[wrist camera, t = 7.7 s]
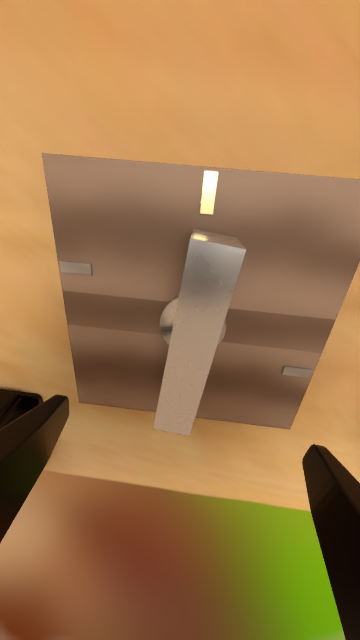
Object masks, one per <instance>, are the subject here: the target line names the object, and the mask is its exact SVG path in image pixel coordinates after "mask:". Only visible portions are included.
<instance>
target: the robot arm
mask: <svg viewBox="0 0 360 640" xmlns="http://www.w3.org/2000/svg"><path fill="white" fill-rule="evenodd" d="M68 416H69V400H68V397H67V396H63V395H55V396H53V397H51V398H50V399H48V400H46V401H45V402H43V403H42V400H41V397H40V396H39V395H37V394H30V393H22V392H14V391H6V390H0V543H1V541H2V539H3V537H4V536H5V534H6V532H7V530H8V529H9V527H10V525H11V524H12V522H13V520H14V518H15V517H16V515H17V513H18V512H19V510H20V508H21V507H22V505H23V503H24V501H25V500H26V498H27V496H28V494H29V493H30V491H31V489H32V488H33V486H34V484H35V483H36V481H37V479H38V477H39V476H40V474H41V472H42V471H43V469H44V467H45V465H46V464H47V462H48V460H49V458H50V456H51V454H52V452H53V449H54V447H55V445H56V443H57V441H58V438H59V436H60V434H61V432H62V430H63V428H64V425H65V423H66V421H67V419H68ZM302 464H303V470H304V476H305V481H306V487H307V493H308V498H309V504H310V509H311V513H312V517H313V521H314V525H315V528H316V532H317V536H318V539H319V543H320V547H321V550H322V554H323V558H324V562H325V565H326V569H327V572H328V576H329V580H330V584H331V587H332V591H333V595H334V598H335V602H336V605H337V609H338V613H339V617H340V620H341V624H342V627H343V631H344V635H345V639H346V640H360V483H359V482H358V481H357V480H356V479H355V478H354V477H353V476H352V475H351V473H350V472H349V471H348V470H347V469H346V468H345V467H344V466H343V465H342V464H341V463H340V462H339V461H338V460H337V459H336V458H335V457H334V456H333V455H332V454H331V452H330V451H329V450H328V449H327V448H325V447H324V446H320V445H315V444H313V445H311V446H310V448H309V449H308V451H307V452H306V454H305V456H304V457H303V461H302Z"/></svg>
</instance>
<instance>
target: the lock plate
mask: <svg viewBox="0 0 360 640" xmlns="http://www.w3.org/2000/svg"><path fill="white" fill-rule="evenodd" d="M42 158H43V165H44V171H45V178H46V185H47V191H48V198H49V205H50V211H51V218H52V224H53V231H54V238H55V244H56V251H57V258H58V264H59V271H60V278H61V284H62V291H63V298H64V304H65V311H66V317H67V324H68V331H69V337H70V344H71V351H72V357H73V364H74V371H75V377H76V384H77V391H78V397H79V403H87V404H94V405H102V406H110V407H118V408H126V409H134V410H141V411H149V412H156V411H157V406H158V401H159V395H160V390H161V385H162V380H163V375H164V370H165V365H166V360H167V355H168V349H169V345H168V344H167V343H166V341H165V340H164V338H163V336H162V334H161V331H160V318H161V315H162V312H163V310H164V308H165V306H166V305H167V303H168V302H169V301H170V300H172V299H173V298H174V297H176V296H178V295H179V293H180V288H181V283H182V278H183V273H184V268H185V263H186V257H187V252H188V247H189V242H190V237H191V235H192V232H193V229H198V230H203V231H208V232H213V233H218V234H222V235H227V236H232V237H237V239H238V240H239V241H240V242H241V244H242V245H243V246H244V247H245V249H246V252H245V256H244V259H243V262H242V265H241V269H240V272H239V275H238V279H237V282H236V285H235V288H234V292H233V295H232V298H231V302H230V305H229V308H228V311H227V315H226V318H225V319H226V332H225V335H224V338H223V339H222V341H221V342H220V344H219V345H218V346H217V347H216V351H215V354H214V357H213V361H212V364H211V367H210V370H209V374H208V377H207V380H206V384H205V387H204V390H203V393H202V397H201V400H200V403H199V407H198V410H197V413H196V416H195V417H196V418H204V419H212V420H220V421H228V422H235V423H243V424H251V425H259V426H267V427H275V428H283V429H290V428H291V426H292V423H293V421H294V418H295V416H296V414H297V411H298V409H299V406H300V404H301V402H302V399H303V397H304V394H305V392H306V390H307V387H308V385H309V382H310V380H311V378H312V375H313V373H314V370H315V368H316V365H317V363H318V361H319V358H320V356H321V353H322V351H323V349H324V346H325V344H326V341H327V339H328V337H329V334H330V332H331V329H332V327H333V325H334V322H335V320H336V317H337V315H338V313H339V310H340V308H341V305H342V303H343V300H344V298H345V296H346V293H347V291H348V288H349V286H350V284H351V281H352V279H353V276H354V274H355V272H356V269H357V267H358V264H359V262H360V179H349V178H337V177H325V176H313V175H301V174H289V173H276V172H264V171H252V170H240V169H228V168H216V167H204V166H191V165H179V164H167V163H155V162H143V161H131V160H118V159H106V158H94V157H82V156H70V155H58V154H46V153H42Z"/></svg>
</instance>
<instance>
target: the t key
mask: <svg viewBox="0 0 360 640" xmlns="http://www.w3.org/2000/svg"><path fill="white" fill-rule="evenodd" d="M245 252H246V249H245V247H244V246H243V245H242V244H241V242H240V241H239V240H238V239H237V237H232V236H227V235H222V234H218V233H213V232H208V231H203V230H198V229H193V232H192V235H191V237H190V242H189V247H188V252H187V257H186V263H185V268H184V273H183V278H182V283H181V288H180V293H179V295H178V296H176V297H174V298H173V299H172V300H170V301H169V302H168V303H167V305H166V306H165V308H164V310H163V312H162V315H161V318H160V331H161V334H162V336H163V338H164V340H165V341H166V343H167V344H168V345H169V349H168V355H167V360H166V365H165V370H164V375H163V380H162V385H161V390H160V395H159V401H158V406H157V411H156V416H155V421H154V426H153V429H157V430H161V431H166V432H171V433H176V434H181V435H186V436H190V433H191V429H192V426H193V423H194V420H195V416H196V413H197V410H198V407H199V403H200V400H201V397H202V393H203V390H204V387H205V384H206V380H207V377H208V374H209V370H210V367H211V364H212V361H213V357H214V354H215V351H216V347H217V346H218V345H219V344H220V342H221V341H222V339H223V338H224V335H225V332H226V319H225V318H226V315H227V311H228V308H229V305H230V302H231V298H232V295H233V292H234V288H235V285H236V282H237V279H238V275H239V272H240V269H241V265H242V262H243V259H244V256H245Z"/></svg>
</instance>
